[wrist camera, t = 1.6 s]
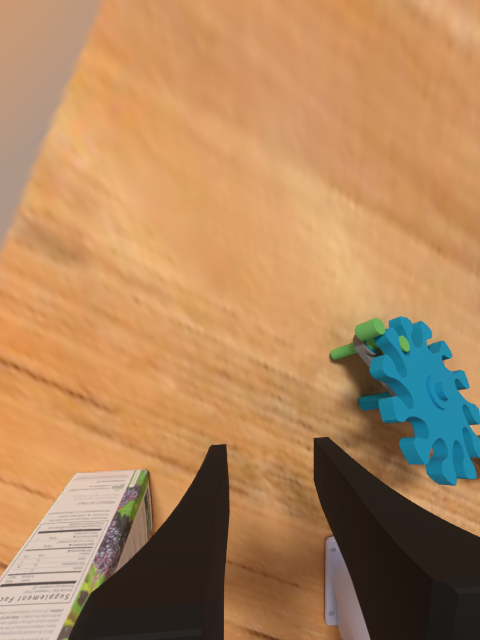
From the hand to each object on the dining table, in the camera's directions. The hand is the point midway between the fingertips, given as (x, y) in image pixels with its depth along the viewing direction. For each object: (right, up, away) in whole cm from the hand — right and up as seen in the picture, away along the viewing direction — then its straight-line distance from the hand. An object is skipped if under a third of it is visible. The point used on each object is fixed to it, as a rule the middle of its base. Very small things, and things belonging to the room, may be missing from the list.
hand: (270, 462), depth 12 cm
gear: (+10, +3, +10) cm, 14 cm away
